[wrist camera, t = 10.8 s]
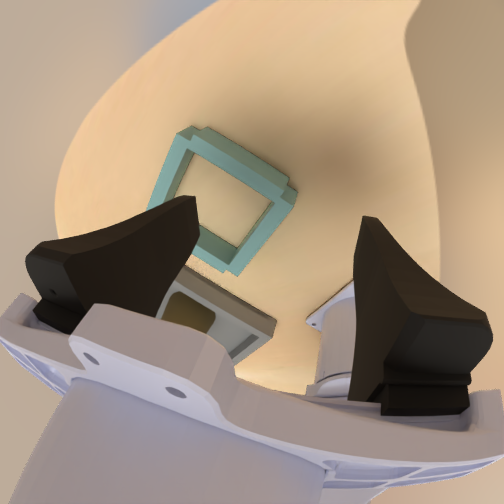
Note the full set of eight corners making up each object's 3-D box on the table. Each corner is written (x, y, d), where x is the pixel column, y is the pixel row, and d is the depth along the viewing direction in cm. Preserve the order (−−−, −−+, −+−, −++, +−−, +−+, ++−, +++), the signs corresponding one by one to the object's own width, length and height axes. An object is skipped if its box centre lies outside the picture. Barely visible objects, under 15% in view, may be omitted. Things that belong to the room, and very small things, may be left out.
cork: (196, 331, 36) (162, 403, 28) (161, 301, 34) (117, 372, 26) (226, 317, 33) (190, 400, 24) (186, 283, 31) (138, 365, 22)
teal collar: (302, 186, 22) (298, 200, 20) (242, 263, 28) (234, 280, 26) (194, 119, 20) (179, 126, 18) (155, 208, 27) (142, 221, 25)
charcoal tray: (276, 320, 32) (272, 337, 30) (227, 360, 40) (222, 374, 38) (151, 243, 30) (139, 257, 28) (131, 302, 38) (122, 315, 36)
